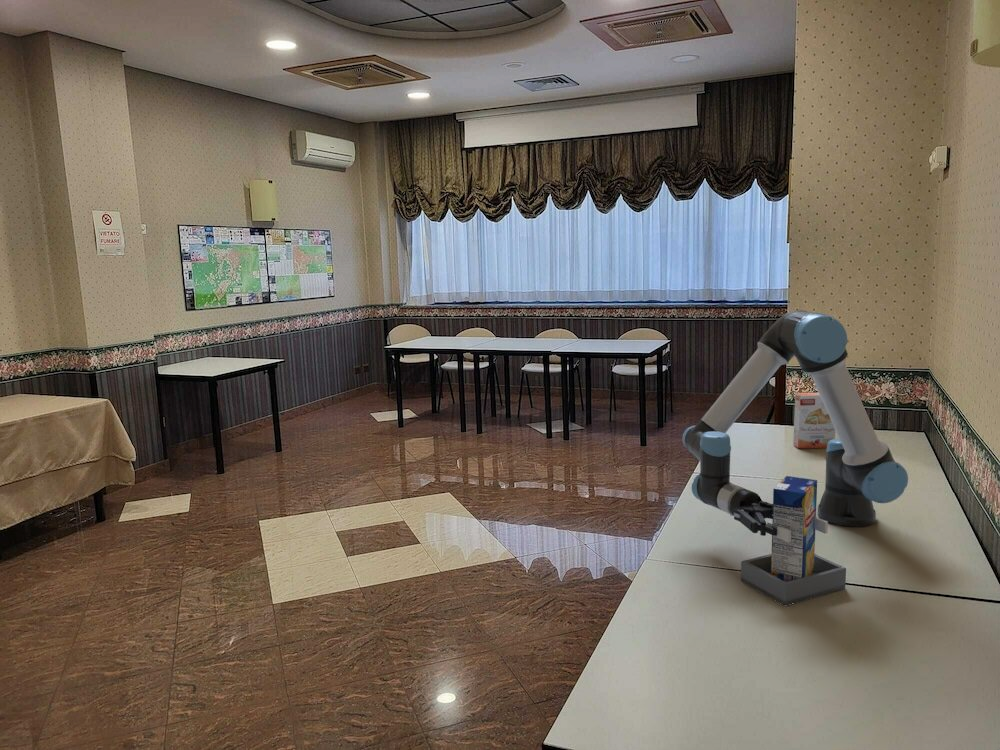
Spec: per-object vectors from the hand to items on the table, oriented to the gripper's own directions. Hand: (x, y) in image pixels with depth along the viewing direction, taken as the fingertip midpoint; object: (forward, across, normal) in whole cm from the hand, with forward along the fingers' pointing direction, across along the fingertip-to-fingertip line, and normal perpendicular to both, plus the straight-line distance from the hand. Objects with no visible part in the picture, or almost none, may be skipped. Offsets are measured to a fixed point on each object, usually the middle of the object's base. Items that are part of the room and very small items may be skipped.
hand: (808, 532), depth 167 cm
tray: (-4, 0, -14) cm, 15 cm away
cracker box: (-88, -94, -15) cm, 130 cm away
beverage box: (-4, 0, -12) cm, 13 cm away
